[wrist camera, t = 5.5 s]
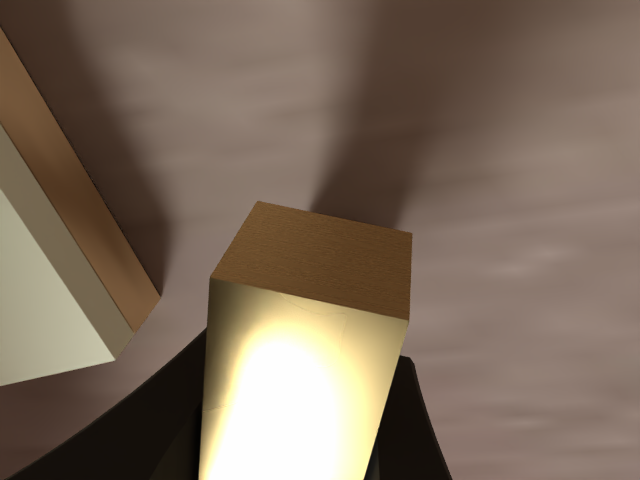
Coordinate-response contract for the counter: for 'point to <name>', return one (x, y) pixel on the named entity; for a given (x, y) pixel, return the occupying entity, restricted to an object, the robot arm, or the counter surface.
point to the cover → (47, 286)
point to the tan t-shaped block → (301, 345)
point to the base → (71, 190)
